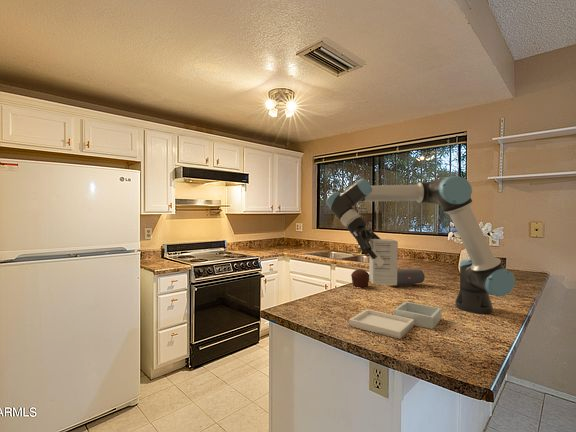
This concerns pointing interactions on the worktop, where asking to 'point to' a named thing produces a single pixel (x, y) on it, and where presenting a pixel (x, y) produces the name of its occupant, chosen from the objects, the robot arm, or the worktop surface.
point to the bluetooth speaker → (409, 277)
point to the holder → (420, 314)
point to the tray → (382, 323)
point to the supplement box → (389, 254)
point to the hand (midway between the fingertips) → (388, 262)
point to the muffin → (360, 278)
